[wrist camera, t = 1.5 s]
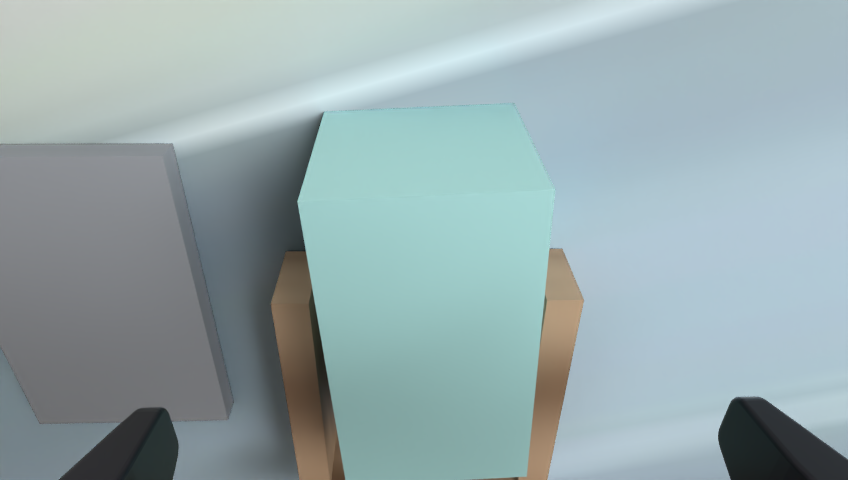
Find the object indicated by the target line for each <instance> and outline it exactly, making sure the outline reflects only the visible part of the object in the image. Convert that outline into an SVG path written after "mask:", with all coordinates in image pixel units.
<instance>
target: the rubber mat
mask: <svg viewBox="0 0 848 480" xmlns="http://www.w3.org/2000/svg"><path fill="white" fill-rule="evenodd" d="M0 347H1V349H2V351H3V353H4V355H5V356H6V358H7V360H8V362H9V364H10V366H11V368H12V370H13V372H14V374H15V376H16V378H17V380H18V382H19V384H20V386H21V388H22V390H23V392H24V394H25V396H26V398H27V400H28V402H29V404H30V406H31V408H32V410H33V411H34V413H35V415H36V417H37V419H38V421H39V423H40V424H61V423H110V422H123V421H124V420H125V419H126V418H127V417H128V416H129V415H130V414H131V413H133V412H134V411H135V410H137V409H139V408H144V407H163V408H165V409H166V410H167V411H168V413H169V415H170V418H171V421H209V420H228V419H229V416H230V413H231V409H232V406H233V403H234V402H233V397H232V393H231V389H230V385H229V381H228V376H227V372H226V368H225V364H224V359H223V355H222V351H221V347H220V342H219V338H218V334H217V330H216V325H215V321H214V317H213V313H212V308H211V304H210V300H209V296H208V291H207V287H206V283H205V279H204V274H203V270H202V266H201V262H200V257H199V253H198V249H197V245H196V240H195V236H194V232H193V228H192V224H191V219H190V215H189V211H188V207H187V202H186V198H185V194H184V190H183V185H182V181H181V177H180V173H179V168H178V164H177V160H176V156H175V151H174V147H173V144H0Z"/></svg>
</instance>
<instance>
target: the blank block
mask: <svg viewBox="0 0 848 480" xmlns="http://www.w3.org/2000/svg"><path fill="white" fill-rule="evenodd" d="M554 197H555V188H554V186H553V184H552V182H551V180H550V178H549V175H548V173H547V171H546V169H545V167H544V165H543V163H542V161H541V159H540V156H539V154H538V152H537V150H536V148H535V146H534V144H533V142H532V140H531V137H530V135H529V133H528V131H527V129H526V127H525V125H524V123H523V121H522V118H521V116H520V114H519V112H518V110H517V108H516V106H515V104H514V103H504V104H481V105H459V106H437V107H415V108H393V109H371V110H349V111H327V112H324V114H323V117H322V121H321V124H320V127H319V131H318V134H317V137H316V141H315V144H314V148H313V151H312V154H311V158H310V161H309V164H308V168H307V171H306V174H305V178H304V181H303V185H302V188H301V191H300V195H299V198H298V201H297V202H298V208H299V214H300V220H301V226H302V231H303V237H304V243H305V249H306V255H307V260H308V266H309V272H310V278H311V284H312V289H313V295H314V301H315V307H316V312H317V318H318V324H319V330H320V336H321V341H322V347H323V353H324V359H325V365H326V370H327V376H328V382H329V388H330V393H331V399H332V405H333V411H334V417H335V422H336V428H337V434H338V440H339V446H340V451H341V457H342V463H343V469H344V475H345V480H472V479H491V478H510V477H527V468H528V458H529V448H530V438H531V428H532V418H533V408H534V398H535V388H536V378H537V368H538V358H539V348H540V338H541V328H542V318H543V308H544V298H545V288H546V278H547V268H548V257H549V247H550V237H551V227H552V217H553V207H554Z"/></svg>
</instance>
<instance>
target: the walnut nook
mask: <svg viewBox="0 0 848 480" xmlns="http://www.w3.org/2000/svg"><path fill="white" fill-rule="evenodd" d="M583 302H584V299H583V297H582V294H581V292H580V290H579V287H578V285H577V283H576V280H575V278H574V276H573V273H572V271H571V268H570V266H569V264H568V261H567V259H566V257H565V254H564V252H563V249H549V257H548V268H547V278H546V288H545V298H544V308H543V318H542V328H541V338H540V348H539V358H538V368H537V378H536V388H535V398H534V408H533V418H532V428H531V438H530V448H529V458H528V468H527V477H510V478H491V479H472V480H547V478H548V473H549V468H550V463H551V458H552V454H553V449H554V444H555V439H556V434H557V429H558V424H559V419H560V414H561V410H562V405H563V400H564V395H565V390H566V385H567V380H568V375H569V370H570V365H571V361H572V356H573V351H574V346H575V341H576V336H577V331H578V326H579V321H580V317H581V312H582V307H583ZM271 309H272V315H273V321H274V327H275V333H276V340H277V346H278V352H279V358H280V364H281V370H282V376H283V382H284V388H285V394H286V400H287V406H288V412H289V418H290V425H291V431H292V437H293V443H294V449H295V455H296V461H297V467H298V473H299V479H300V480H345V475H344V469H343V463H342V457H341V451H340V446H339V440H338V434H337V428H336V422H335V417H334V411H333V405H332V399H331V393H330V388H329V382H328V376H327V370H326V365H325V359H324V353H323V347H322V341H321V336H320V330H319V324H318V318H317V312H316V307H315V301H314V295H313V289H312V284H311V278H310V272H309V266H308V260H307V255H306V251H286V253H285V256H284V260H283V263H282V267H281V270H280V274H279V277H278V280H277V284H276V287H275V291H274V294H273V298H272V301H271Z"/></svg>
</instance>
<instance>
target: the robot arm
mask: <svg viewBox="0 0 848 480" xmlns="http://www.w3.org/2000/svg"><path fill="white" fill-rule="evenodd" d="M718 440H719V445H720V449H721V452H722V455H723V458H724V461H725V464H726V467H727V470H728V473H729V476H730V479H731V480H848V459H846V458H845V457H844V456H842V455H841V454H840V453H838V452H837V451H835V450H834V449H833V448H831V447H830V446H829V445H827V444H826V443H824V442H823V441H822V440H820V439H819V438H818V437H816V436H815V435H813V434H812V433H811V432H809V431H808V430H807V429H805V428H804V427H802V426H801V425H800V424H798V423H797V422H796V421H794V420H793V419H791V418H790V417H789V416H787V415H786V414H784V413H783V412H782V411H780V410H779V409H778V408H776V407H775V406H773V405H772V404H771V403H769V402H768V401H766V400H765V399H763V398H761V397H736V398H734V399H733V400H732V401H731V403H730V405H729V407H728V409H727V412H726V414H725V416H724V419H723V421H722V424H721V426H720V428H719V433H718ZM177 457H178V440H177V437H176V433H175V430H174V427H173V424H172V421H171V418H170V415H169V413H168V411H167V410H166V409H165V408H163V407H144V408H139V409H137V410H135V411H134V412H133V413H131V414H130V415H129V416H128V417H127V418H126V419H125V420H124V421H123V422H122V423H120V424H119V425H118V426H117V427H116V428H115V429H114V430H113V431H112V432H111V433H109V434H108V435H107V436H106V437H105V438H104V439H103V440H102V441H101V442H100V443H98V444H97V445H96V446H95V447H94V448H93V449H92V450H91V451H90V452H89V453H87V454H86V455H85V456H84V457H83V458H82V459H81V460H80V461H79V462H78V463H76V464H75V465H74V466H73V467H72V468H71V469H70V470H69V471H68V472H67V473H65V474H64V475H63V476H62V477H61V478H60V479H59V480H173V475H174V471H175V466H176V462H177Z"/></svg>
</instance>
